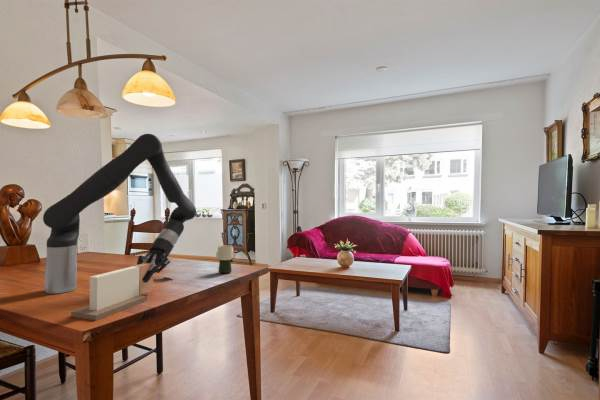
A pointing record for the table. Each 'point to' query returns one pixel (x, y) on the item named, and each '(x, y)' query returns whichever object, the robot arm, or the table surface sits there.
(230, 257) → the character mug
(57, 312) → the table surface
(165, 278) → the parchment
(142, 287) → the stub
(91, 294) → the stand
